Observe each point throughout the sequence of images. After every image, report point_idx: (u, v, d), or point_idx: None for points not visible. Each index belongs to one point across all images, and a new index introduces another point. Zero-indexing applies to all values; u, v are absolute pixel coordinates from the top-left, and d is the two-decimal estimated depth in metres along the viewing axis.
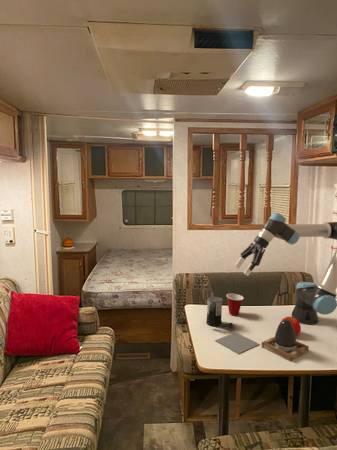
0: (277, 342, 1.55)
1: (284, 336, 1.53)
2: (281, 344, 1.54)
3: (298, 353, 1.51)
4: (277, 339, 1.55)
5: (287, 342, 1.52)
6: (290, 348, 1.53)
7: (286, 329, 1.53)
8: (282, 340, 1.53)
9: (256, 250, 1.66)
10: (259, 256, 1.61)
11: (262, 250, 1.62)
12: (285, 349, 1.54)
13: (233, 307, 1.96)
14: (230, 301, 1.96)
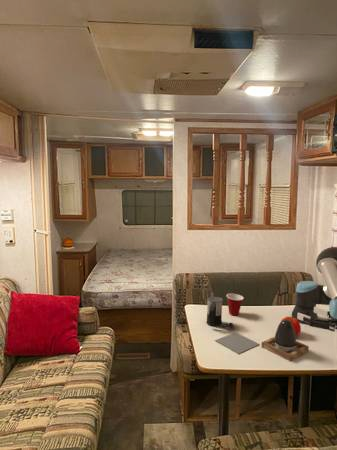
0: (277, 342, 1.55)
1: (284, 336, 1.53)
2: (281, 344, 1.54)
3: (298, 353, 1.51)
4: (277, 339, 1.55)
5: (287, 342, 1.52)
6: (290, 348, 1.53)
7: (286, 329, 1.53)
8: (282, 340, 1.53)
9: None
10: None
11: None
12: (285, 349, 1.54)
13: (233, 307, 1.96)
14: (230, 301, 1.96)
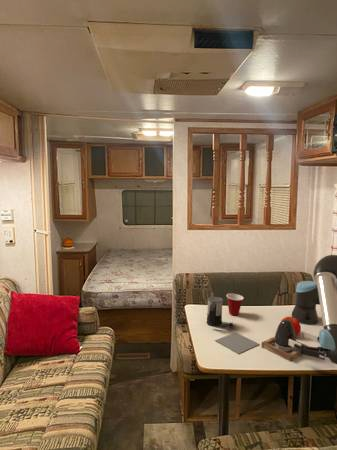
0: (277, 342, 1.55)
1: (284, 336, 1.53)
2: (281, 344, 1.54)
3: (298, 353, 1.51)
4: (277, 339, 1.55)
5: (287, 342, 1.52)
6: (290, 348, 1.53)
7: (286, 329, 1.53)
8: (282, 340, 1.53)
9: None
10: None
11: None
12: (285, 349, 1.54)
13: (233, 307, 1.96)
14: (230, 301, 1.96)
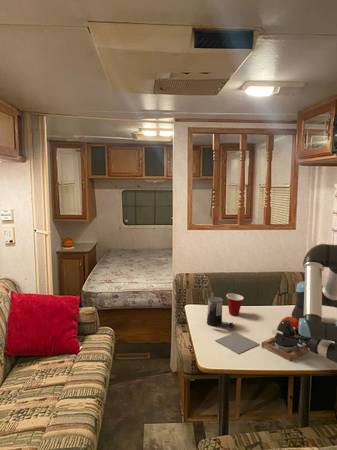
0: (277, 342, 1.55)
1: None
2: (281, 344, 1.54)
3: (298, 353, 1.51)
4: (277, 339, 1.55)
5: None
6: (290, 348, 1.53)
7: (286, 329, 1.53)
8: None
9: None
10: None
11: None
12: (285, 349, 1.54)
13: (233, 307, 1.96)
14: (230, 301, 1.96)
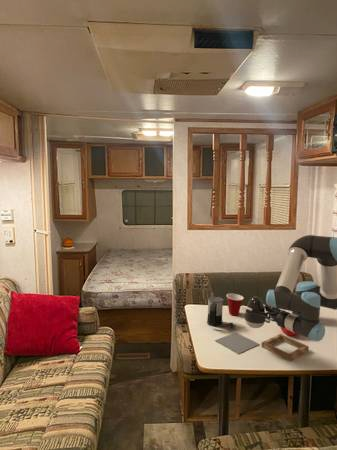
0: (247, 319, 1.56)
1: None
2: (250, 321, 1.54)
3: (298, 353, 1.51)
4: (247, 316, 1.56)
5: None
6: (259, 324, 1.54)
7: (255, 305, 1.54)
8: None
9: None
10: None
11: None
12: (254, 325, 1.54)
13: (233, 307, 1.96)
14: (230, 301, 1.96)
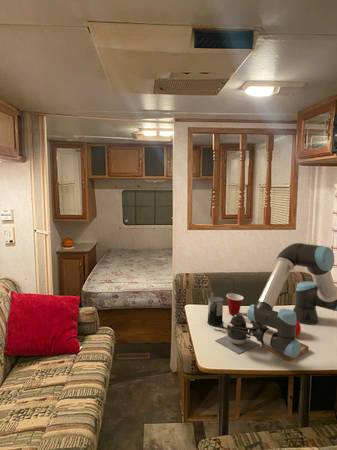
0: (229, 335, 1.61)
1: None
2: (232, 337, 1.59)
3: None
4: (229, 332, 1.61)
5: (238, 335, 1.58)
6: (241, 341, 1.58)
7: (237, 322, 1.59)
8: None
9: None
10: None
11: None
12: (236, 342, 1.59)
13: (233, 307, 1.96)
14: (230, 301, 1.96)
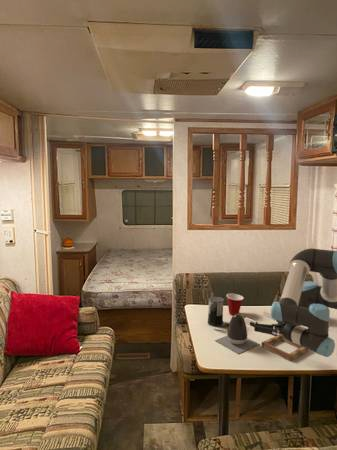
0: (229, 335, 1.61)
1: (235, 329, 1.58)
2: (232, 337, 1.59)
3: (298, 353, 1.51)
4: (229, 333, 1.61)
5: (238, 335, 1.58)
6: (241, 341, 1.58)
7: (237, 323, 1.59)
8: (233, 333, 1.59)
9: None
10: None
11: None
12: (236, 342, 1.59)
13: (233, 307, 1.96)
14: (230, 301, 1.96)
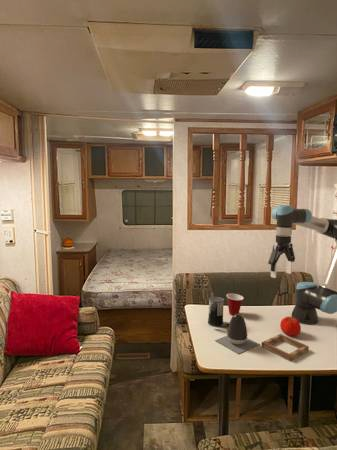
0: (229, 335, 1.61)
1: (235, 329, 1.58)
2: (232, 337, 1.59)
3: (298, 353, 1.51)
4: (229, 333, 1.61)
5: (238, 335, 1.58)
6: (241, 341, 1.58)
7: (237, 323, 1.59)
8: (233, 333, 1.59)
9: (277, 249, 1.62)
10: (272, 255, 1.59)
11: (274, 247, 1.59)
12: (236, 342, 1.59)
13: (233, 307, 1.96)
14: (230, 301, 1.96)
